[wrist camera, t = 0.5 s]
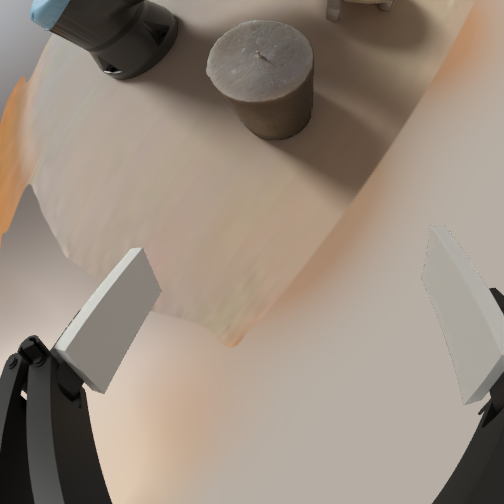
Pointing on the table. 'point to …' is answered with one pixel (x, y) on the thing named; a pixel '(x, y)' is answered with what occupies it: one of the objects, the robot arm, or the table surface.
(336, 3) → the beige round legged stand
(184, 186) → the table surface
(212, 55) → the pillar candle
